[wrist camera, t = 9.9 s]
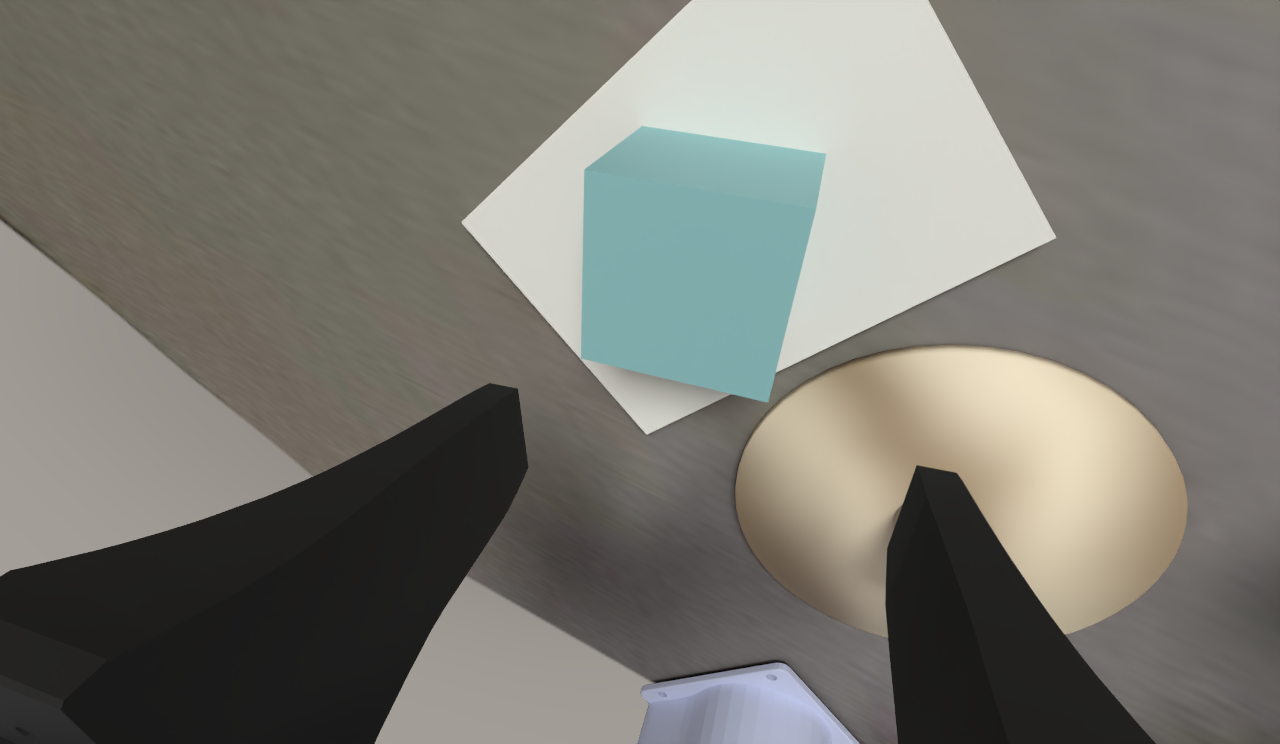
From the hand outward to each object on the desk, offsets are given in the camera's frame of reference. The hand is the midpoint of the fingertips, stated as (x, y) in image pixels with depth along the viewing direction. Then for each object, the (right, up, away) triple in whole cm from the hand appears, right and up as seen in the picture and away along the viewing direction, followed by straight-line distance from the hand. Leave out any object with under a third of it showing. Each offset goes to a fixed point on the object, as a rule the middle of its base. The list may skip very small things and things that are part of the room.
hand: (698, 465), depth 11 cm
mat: (+1, +6, +7) cm, 9 cm away
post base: (+9, -3, +11) cm, 15 cm away
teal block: (+1, +6, +7) cm, 9 cm away
